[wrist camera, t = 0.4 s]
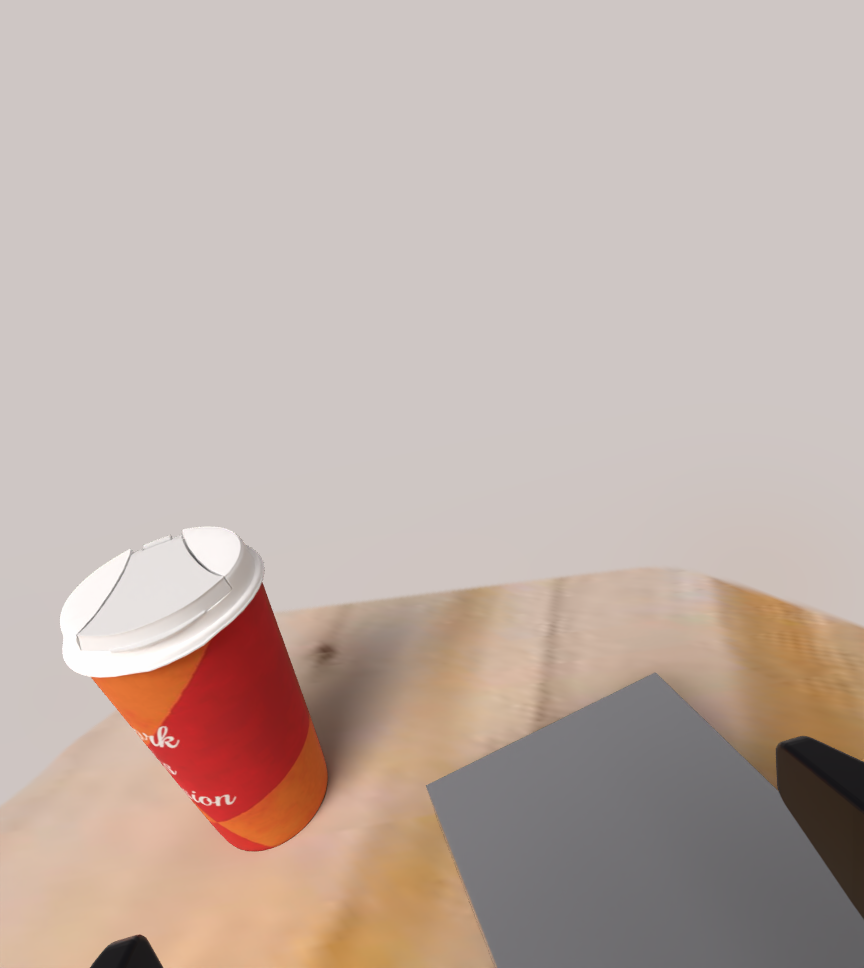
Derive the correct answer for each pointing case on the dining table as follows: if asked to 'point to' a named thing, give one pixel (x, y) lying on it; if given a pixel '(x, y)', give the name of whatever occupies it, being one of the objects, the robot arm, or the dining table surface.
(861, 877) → the robot arm
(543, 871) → the slate slab
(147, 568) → the paper cup
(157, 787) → the dining table surface
